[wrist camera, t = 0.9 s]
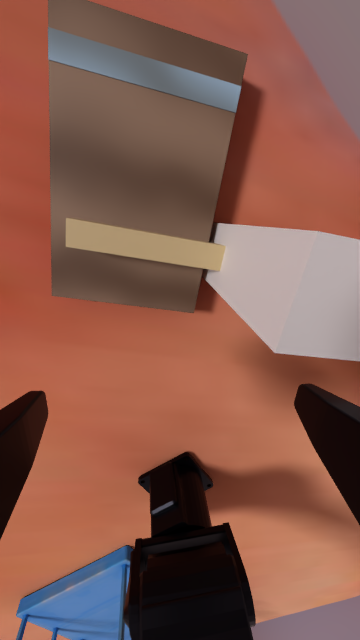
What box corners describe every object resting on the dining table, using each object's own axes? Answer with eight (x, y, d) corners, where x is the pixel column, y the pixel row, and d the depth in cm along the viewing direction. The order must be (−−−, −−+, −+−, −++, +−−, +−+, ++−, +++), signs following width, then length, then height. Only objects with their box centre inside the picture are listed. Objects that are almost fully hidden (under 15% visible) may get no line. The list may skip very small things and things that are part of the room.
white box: (249, 283, 20) (371, 362, 9) (82, 258, 18) (-20, 323, 7) (263, 232, 19) (429, 254, 8) (84, 197, 16) (-41, 157, 5)
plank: (189, 304, 20) (193, 313, 19) (61, 287, 19) (51, 295, 17) (235, 73, 15) (248, 53, 13) (61, 18, 13) (47, -14, 11)
